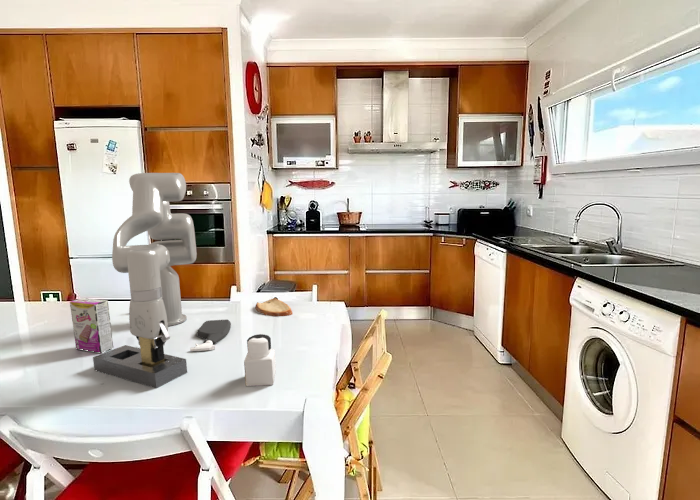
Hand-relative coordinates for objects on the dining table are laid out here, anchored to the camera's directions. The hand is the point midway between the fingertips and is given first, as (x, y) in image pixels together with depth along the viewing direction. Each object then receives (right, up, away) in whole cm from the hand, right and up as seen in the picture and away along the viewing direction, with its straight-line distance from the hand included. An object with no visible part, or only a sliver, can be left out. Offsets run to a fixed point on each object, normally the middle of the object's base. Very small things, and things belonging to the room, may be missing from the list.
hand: (153, 358), depth 114 cm
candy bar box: (-29, -3, +21) cm, 36 cm away
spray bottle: (+6, -1, +29) cm, 30 cm away
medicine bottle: (+31, -5, -4) cm, 31 cm away
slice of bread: (+22, +4, +60) cm, 65 cm away
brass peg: (0, -2, 0) cm, 2 cm away
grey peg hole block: (-5, -5, +3) cm, 8 cm away
